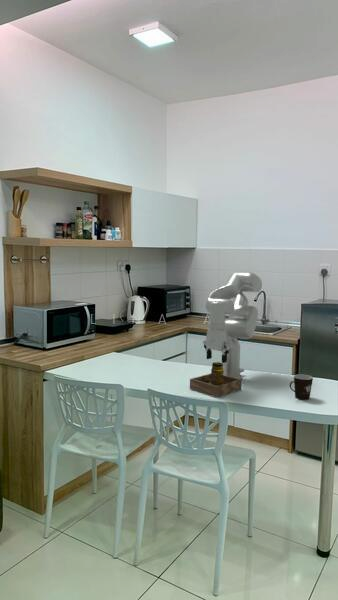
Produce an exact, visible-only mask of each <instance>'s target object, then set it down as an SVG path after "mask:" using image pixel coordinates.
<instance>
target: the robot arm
mask: <svg viewBox="0 0 338 600" xmlns="http://www.w3.org/2000/svg"><path fill="white" fill-rule="evenodd" d="M262 287H263V281H262V279H261V277H260V276H258V275H257V274H255V273H254V272H249V271H248V272H247V271H235V272H232V273H231V274H230V276H229V277H228V279H227V280H226V283H225V284H224V285H223V286H221V287H219V288H217V289H215V290H213V291H212V292H211V293H210V294H209V296H208V297H207V298H206V301H205V305H204V306H205V310H206V312H208V314H209V315H208V316H209V318H208V319H209V321H208V323H207V325H208V326H209V327H208V328H207V332H206V339H205V340H203V341H202V344H203V348H204V349H205V352H206V360H209V359H212V357H213V356H212V355H213V354H212V350H213V351H216V352H217V351H218V352H220V353H221V363H222V364H223V370H224V372H223V375H225V376H229V377H233V378H237V379H240V380H242V379H243V375H242V374H241V373H243V372H245V368H243V367H242V368H241V367H240V365H241V345H240V342H239V341H238V339H244V340H245V339H246V340H249V339H251V338H253V336H254V334H255V330H256V327H257V324H258V321H259V320H258V319H259V309H258V308H257V307H256V306H255V305H248V304H249V299H248V298H247V296H246V295H245V293H259V292H260V291H261V290H262ZM243 292H244V293H243ZM226 315H228V318H229V319H226V317H225V316H226Z"/></svg>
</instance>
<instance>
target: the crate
mask: <svg viewBox="0 0 338 600" xmlns="http://www.w3.org/2000/svg"><path fill="white" fill-rule="evenodd" d="M242 382H243V381H242V379H237V378H233V377H229V376H225V375H223V385H220V386H215V385H212V384H211V372H210V373H208V374H207V373H206V374H204V375H201V376H200V375H199V376H196V377H192V378H189V390H192V391H196V392H198V393H203V394H206V395H209V396H212V397H215V398H220V397H223V396H226V395H230V394H232V393H235V391H236V392H239V391H242ZM238 390H239V391H238Z"/></svg>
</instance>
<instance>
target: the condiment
mask: <svg viewBox="0 0 338 600" xmlns="http://www.w3.org/2000/svg"><path fill="white" fill-rule="evenodd" d="M210 371H211V372H210V373H211V384H212V385H215V386H220V385H223V372H224V370H223V364H222V362H219V361H218V362H212V364H211V370H210Z"/></svg>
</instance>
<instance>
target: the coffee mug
mask: <svg viewBox="0 0 338 600" xmlns="http://www.w3.org/2000/svg"><path fill="white" fill-rule="evenodd" d="M313 381H314V377H313V376H312V375H307V374H301V373H300V374H294V375H293V380H291V381H290V383H289V388H290V390H291V391H292V392H294V396H295V397H294V398H295V399H297V400H301V401H307V400H310V397H311V391H312V385H313ZM292 384H294V389H293V387H292Z"/></svg>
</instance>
